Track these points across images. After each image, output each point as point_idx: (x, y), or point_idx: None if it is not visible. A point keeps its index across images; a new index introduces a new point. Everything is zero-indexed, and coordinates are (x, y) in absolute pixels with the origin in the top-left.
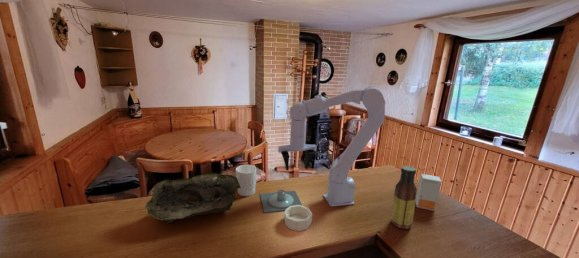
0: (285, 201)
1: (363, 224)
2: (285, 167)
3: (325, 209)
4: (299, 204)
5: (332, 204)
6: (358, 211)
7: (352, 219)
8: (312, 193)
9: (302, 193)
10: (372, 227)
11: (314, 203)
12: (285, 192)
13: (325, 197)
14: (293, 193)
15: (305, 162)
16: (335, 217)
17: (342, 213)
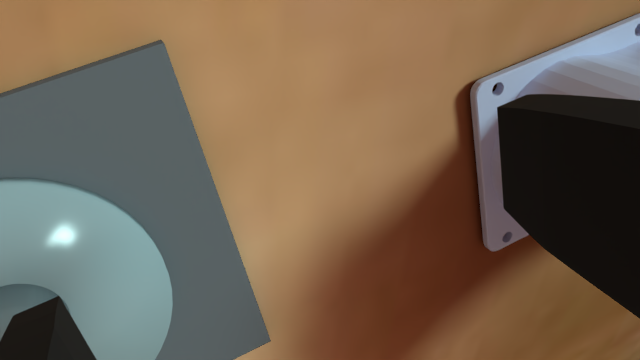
0: None
1: (593, 350)
2: (4, 340)
3: (436, 286)
4: (233, 311)
5: (505, 232)
6: None
7: (560, 330)
8: (373, 53)
9: (261, 73)
10: (619, 356)
11: (367, 232)
12: (30, 121)
13: (482, 142)
14: (151, 124)
15: (608, 193)
16: (476, 347)
17: (530, 293)
